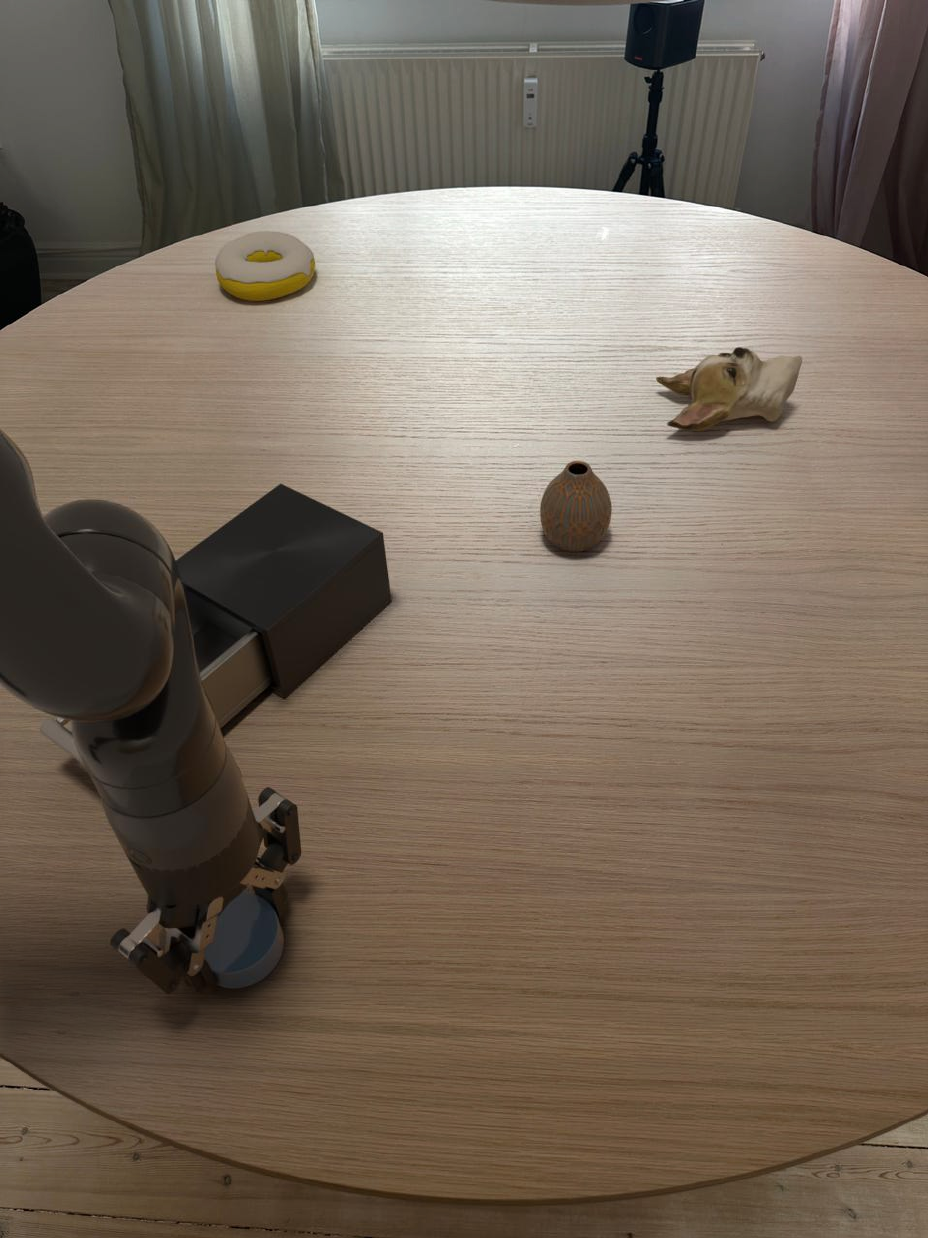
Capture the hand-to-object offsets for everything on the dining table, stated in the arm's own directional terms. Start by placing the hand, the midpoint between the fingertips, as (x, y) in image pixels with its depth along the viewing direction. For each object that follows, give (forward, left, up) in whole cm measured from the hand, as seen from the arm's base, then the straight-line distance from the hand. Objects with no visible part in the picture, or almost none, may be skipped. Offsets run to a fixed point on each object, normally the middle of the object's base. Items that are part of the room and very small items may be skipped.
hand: (239, 943), depth 69 cm
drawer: (+1, +23, 0) cm, 23 cm away
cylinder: (0, 0, -1) cm, 1 cm away
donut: (+34, +94, -1) cm, 100 cm away
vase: (+43, +26, -1) cm, 50 cm away
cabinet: (+14, +29, -1) cm, 32 cm away
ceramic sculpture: (+69, +36, -1) cm, 78 cm away
